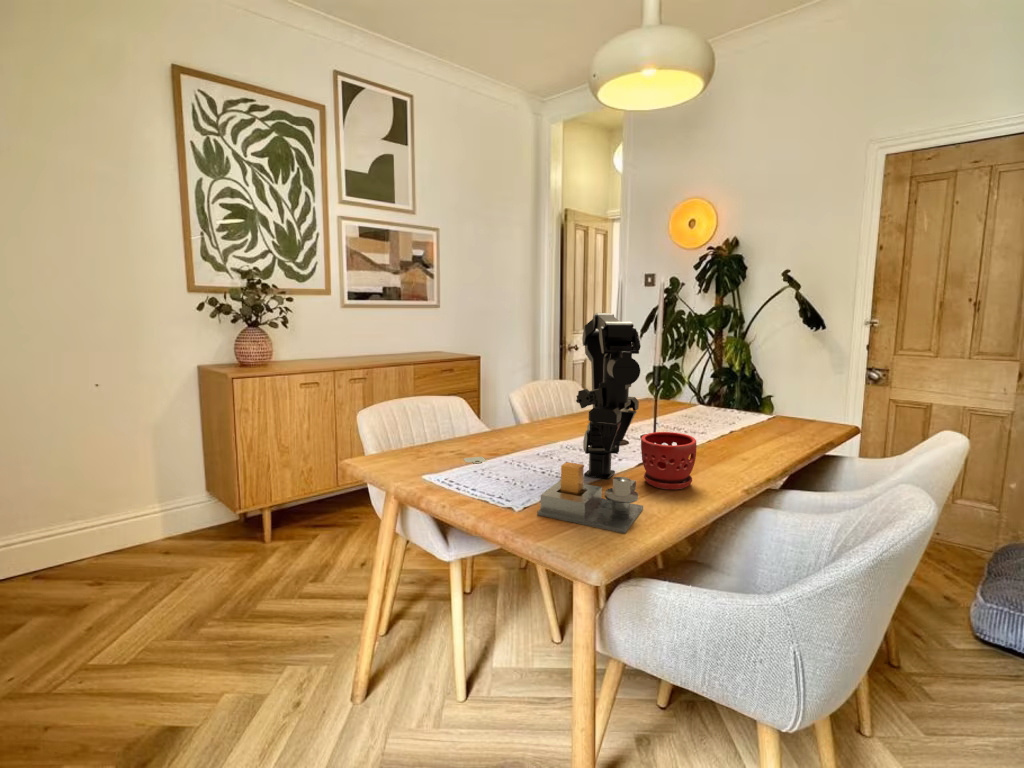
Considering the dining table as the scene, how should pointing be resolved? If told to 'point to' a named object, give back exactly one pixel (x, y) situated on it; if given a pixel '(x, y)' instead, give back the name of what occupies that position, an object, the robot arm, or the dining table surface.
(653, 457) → the plant pot
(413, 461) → the dining table surface
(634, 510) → the grey metal frame fixture
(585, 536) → the dining table surface
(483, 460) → the mounting bracket
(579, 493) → the rectangular wooden peg
